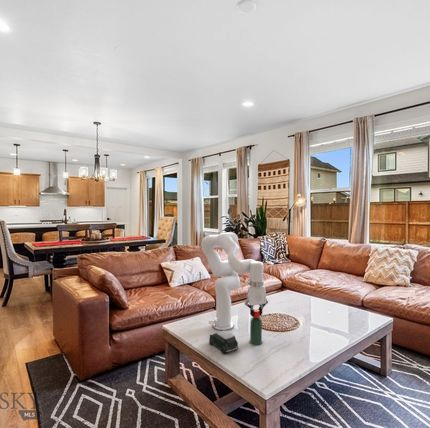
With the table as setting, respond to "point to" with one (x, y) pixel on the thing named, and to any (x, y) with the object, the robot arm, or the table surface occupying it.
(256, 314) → the cap
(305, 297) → the table surface
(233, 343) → the miniature car
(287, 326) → the table surface
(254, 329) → the bottle
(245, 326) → the table surface
